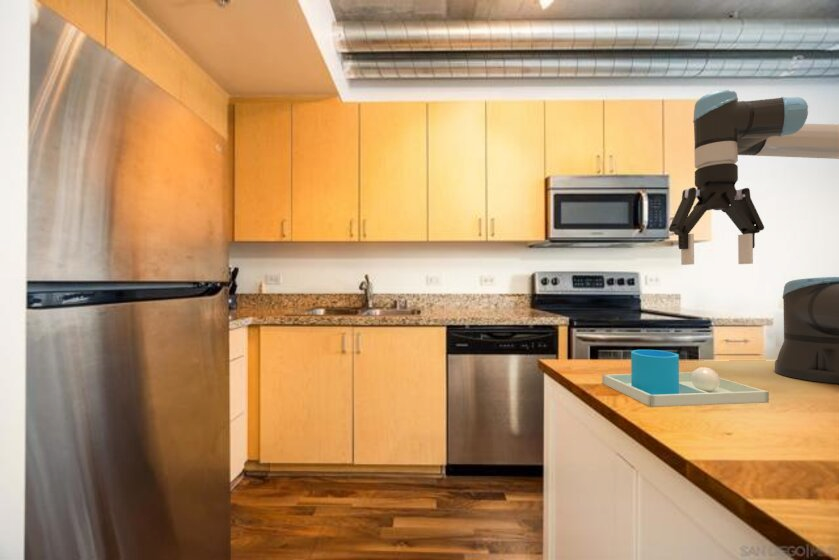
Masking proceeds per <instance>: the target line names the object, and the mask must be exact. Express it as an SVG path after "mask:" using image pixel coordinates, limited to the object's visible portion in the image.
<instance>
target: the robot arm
mask: <svg viewBox="0 0 839 560" xmlns="http://www.w3.org/2000/svg"><path fill="white" fill-rule="evenodd" d="M808 108H809V105H808V103H807V101H806V100H805V99H804V98H803V97H799V96H793V97H792V96H791V97H784V96H781V97H777V98H768V99H767V98H766V99H757V100H756V99H755V100H747V101H745V100H739V98H738V95H737V92H736V91H735V90H731V89H723V90H721V89H720V90H717V91H713V92H710V93H707V94H705V95H703V96H701V97H700V98H699V99H698V100H697V101H696V102H695V105H694V109H693V120H692V123H693V130H694V131H693V134H694V149H693V150H694V151H693V152H694V168H695V169H696V170H695V171H694V186H695V187H694V186H693V187H690V188H686V189H684V190H683V191H682V192H681V193H682V195H681V202H680V203H679V205H678V207H677V210H676V212H675V214H674V216H673V219H672V221H671V223H670V225H669V227H668V230H669V232H671V233H672V232H673V234H674V236H678V237H677V239H678V240H677V241H678V249H679V250H680V256H681V257H680V259H681V263H680V264H681V266H686V265H688V266H689V265H695V237H694V236H695V234H694V233H690V232H692V230H693V229H694V228H695V226H696V225H697V223H698V222H699V221H700V220H701V218H702V217H703V216H704V214H705V213H706V212H707V211H712V210H714V211H721V212H723V213H725V214H726V215H727V216H728V218H729V220H731V221H732V223H733V224H734V225H735V227H736V228H737V229H738V231H740V233H741V234H737V238H738V239H737V245H738V247H737V251H738V253H737V254H738V257H737V258H738V261H737V262H738V265H749V264H750V265H751V264H754V253H753V251H754V249H755V246H756V244H755V243H756V242H755V241H756V240H755V239H756V238H755V237H756V235H755V234H759V233H760V231H764V229H765V225H764V224H763V221H762V218H761V217H760V215H759V212H758V211H757V209H756V207H755V204H754V202H753V200H752V198H751V190H750V188H749V187H745V188H741V189H736V183H737V182H738V180H739V168H738V167H739V166H738V165H737V164H736V163H737V162H739V161H738V160H739V159H738V157H739V156H753V157H754V156H756V157H758V156H759V157H781V158H782V157H783V158H808V159H828V160H829V159H833V160H834V159H835V160H839V123H838V124H835V123H834V124H833V123H830V124H829V123H828V124H827V123H806V121H807V119H808V114H809V110H808ZM696 199H697V200H698V201H697V202H696V203H695V201H696ZM782 292H783V294H782V299H783V301H782V303H783V342H782V346H781V348H780V350H779V351H778V356H777V359H776V360H775V361H774V372H775V373H777V374H778V375H781V376H785V377H789V378H794V379H798V380H803V381H810V382H811V381H812V382H817V383H818V382H819V383H824V384H825V383H826V384H828V383H829V384H839V276H827V277H826V276H823V277H822V276H821V277H812V278H811V277H810V278H801V279H800V278H799V279H798V278H797V279H792V280H789V281H787V282H786V283H785V284H784V286H783V291H782Z"/></svg>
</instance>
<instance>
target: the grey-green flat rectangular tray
mask: <svg viewBox="0 0 839 560" xmlns="http://www.w3.org/2000/svg"><path fill="white" fill-rule="evenodd" d="M692 372H693V371H686V372H685V371H682V372H681V371H679V394H660V395H651V394H649V393H647V392H644V391H642V390H640V389H637V388H635V387H633V386H631V373H621V374H619V373H616V374H615V373H613V374H612V373H611V374H602V375H601V377H602V379H601V380H602V384H603V385H604V386H607V387H609V388H610V389H613V390H615V391H617V392H619V393H621V394H623V395H626V396H627V397H629V398H632V399H633V400H636V401H638V402H639V403H641V404H644V405H646V406H649V407H650V408H651V407H653V408H656V407H679V406H680V407H681V406H683V407H684V406H685V407H686V406H703V405H704V406H705V405H706V406H708V405H710V406H711V405H730V404H731V405H732V404H733V405H736V404H760V403H769V401H770V400H769V399H770V394H769V393H770V392H769V391H767V390H763V389H760V388H757V387H753V386H750V385H746V384H744V383H741V382H736V381H733V380H730V379H727V378H723V377H720V376H719V379H720V383H719V386H718V387H717V388H716V389H715V390H713V391H703V390H700V389H698V388H696V387H695V386H694V385H693V383H692V381H691V374H692Z"/></svg>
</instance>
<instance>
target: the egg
mask: <svg viewBox="0 0 839 560" xmlns="http://www.w3.org/2000/svg"><path fill="white" fill-rule="evenodd" d="M691 372H692V374H691V381H692V383H693V385H694V386H695V387H696V388H698V389H700V390H703V391H713V390H715V389H716V388H717V387H718V386H719V383H720V379H719V377H720V376H719V374H718V373H717V371H715V370H714V369H712V368H709V367H705V366H700V367H698V368H695V369H694V370H693V371H691Z"/></svg>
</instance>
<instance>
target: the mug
mask: <svg viewBox="0 0 839 560" xmlns="http://www.w3.org/2000/svg"><path fill="white" fill-rule="evenodd" d="M630 353H631V354H630V355H631V356H630V358H631V359H630V364H631V366H630V367H631V371H630V372H631V373H630V374H631V386H633V387H635V388H637V389H640V390H642V391H644V392H647V393H649V394H651V395H660V394H679V372H680V354H679V353H675V352H671V351H666V350H657V349H634V350H631V351H630Z"/></svg>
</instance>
